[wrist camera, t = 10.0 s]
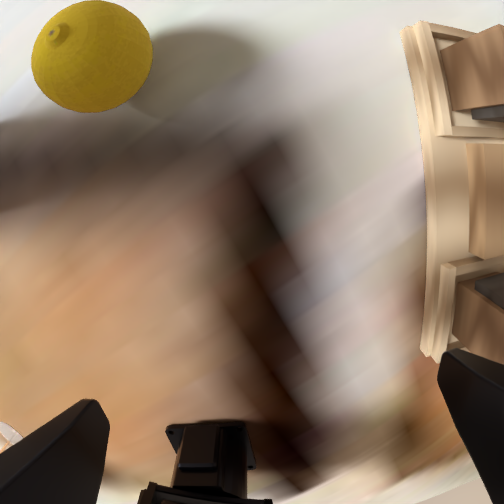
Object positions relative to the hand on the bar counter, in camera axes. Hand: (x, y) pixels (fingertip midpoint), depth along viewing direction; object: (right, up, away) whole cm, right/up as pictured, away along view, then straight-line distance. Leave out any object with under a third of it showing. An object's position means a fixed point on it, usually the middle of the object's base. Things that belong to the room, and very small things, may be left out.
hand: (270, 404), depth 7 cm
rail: (+14, +7, +11) cm, 19 cm away
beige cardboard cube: (+13, +14, +7) cm, 21 cm away
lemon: (-8, +14, +9) cm, 18 cm away
